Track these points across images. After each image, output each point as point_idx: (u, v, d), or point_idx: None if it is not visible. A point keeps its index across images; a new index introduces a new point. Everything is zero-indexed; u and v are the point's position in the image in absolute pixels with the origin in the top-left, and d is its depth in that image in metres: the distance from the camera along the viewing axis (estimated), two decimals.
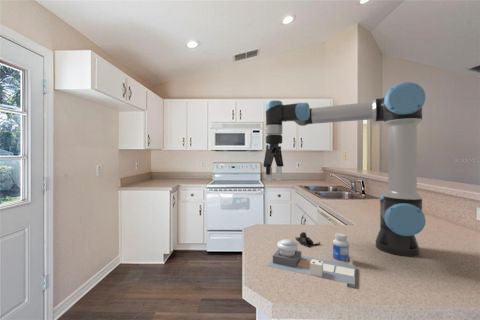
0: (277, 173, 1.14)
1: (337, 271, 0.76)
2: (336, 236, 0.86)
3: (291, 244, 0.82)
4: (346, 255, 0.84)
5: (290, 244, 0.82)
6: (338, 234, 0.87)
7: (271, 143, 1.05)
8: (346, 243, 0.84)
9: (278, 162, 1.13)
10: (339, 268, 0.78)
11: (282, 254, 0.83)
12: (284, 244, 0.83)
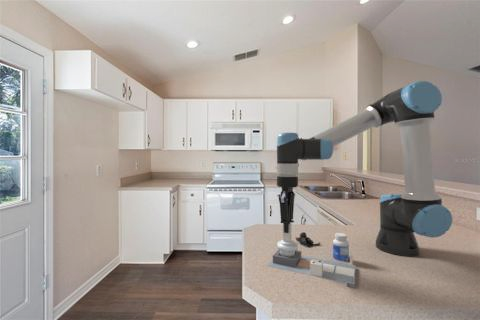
0: None
1: (337, 271, 0.76)
2: (336, 236, 0.86)
3: (291, 244, 0.82)
4: (346, 255, 0.84)
5: (290, 244, 0.82)
6: (338, 234, 0.87)
7: (284, 188, 0.81)
8: (346, 243, 0.84)
9: None
10: (339, 268, 0.78)
11: (282, 254, 0.83)
12: (284, 244, 0.83)
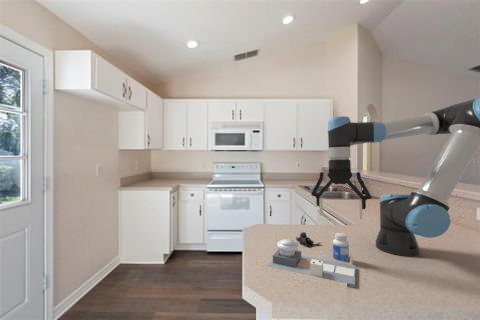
0: None
1: (337, 271, 0.76)
2: (336, 236, 0.86)
3: (291, 244, 0.82)
4: (346, 255, 0.84)
5: (290, 244, 0.82)
6: (338, 234, 0.87)
7: None
8: (346, 243, 0.84)
9: (357, 194, 0.84)
10: (339, 268, 0.78)
11: (282, 254, 0.83)
12: (284, 244, 0.83)
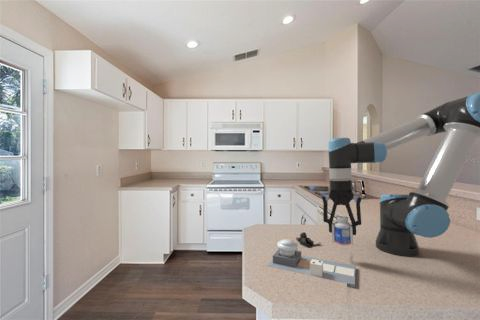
0: None
1: (337, 271, 0.76)
2: (337, 219, 0.86)
3: (291, 244, 0.82)
4: (348, 237, 0.84)
5: (290, 244, 0.82)
6: (339, 217, 0.87)
7: (330, 190, 0.88)
8: (347, 225, 0.84)
9: (350, 218, 0.85)
10: (339, 268, 0.78)
11: (282, 254, 0.83)
12: (284, 244, 0.83)
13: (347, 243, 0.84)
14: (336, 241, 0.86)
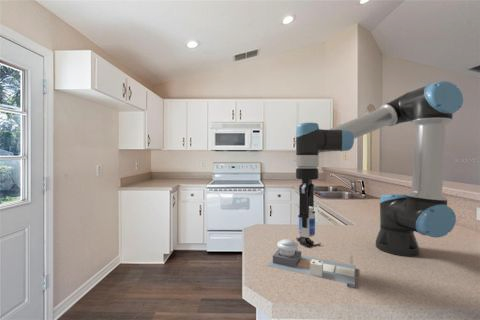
0: None
1: (337, 271, 0.76)
2: (310, 209, 0.80)
3: (291, 244, 0.82)
4: None
5: (290, 244, 0.82)
6: None
7: (305, 180, 0.78)
8: None
9: None
10: (339, 268, 0.78)
11: (282, 254, 0.83)
12: (284, 244, 0.83)
13: None
14: (310, 234, 0.79)
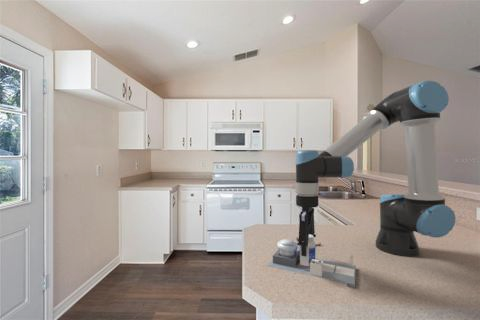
0: None
1: (337, 271, 0.76)
2: (311, 238, 0.80)
3: (291, 244, 0.82)
4: None
5: (290, 244, 0.82)
6: None
7: (305, 208, 0.78)
8: None
9: (309, 230, 0.85)
10: (339, 268, 0.78)
11: (282, 254, 0.83)
12: (284, 244, 0.83)
13: None
14: None
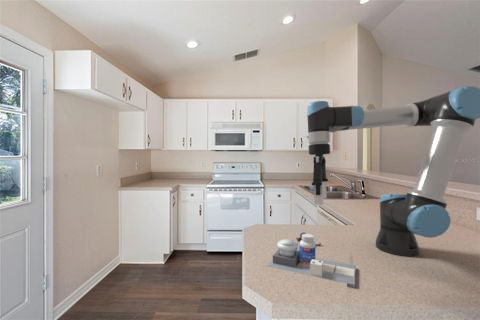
0: None
1: (337, 271, 0.76)
2: (311, 238, 0.80)
3: (291, 244, 0.82)
4: None
5: (290, 244, 0.82)
6: (308, 236, 0.81)
7: (318, 154, 0.83)
8: None
9: (322, 176, 0.92)
10: (339, 268, 0.78)
11: (282, 254, 0.83)
12: (284, 244, 0.83)
13: None
14: None
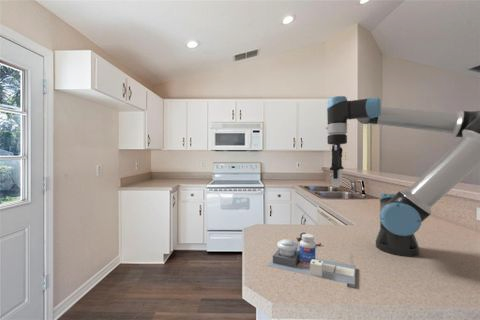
0: None
1: (337, 271, 0.76)
2: (311, 238, 0.80)
3: (291, 244, 0.82)
4: None
5: (290, 244, 0.82)
6: (308, 236, 0.81)
7: (336, 143, 0.94)
8: None
9: (338, 164, 1.03)
10: (339, 268, 0.78)
11: (282, 254, 0.83)
12: (284, 244, 0.83)
13: None
14: None
